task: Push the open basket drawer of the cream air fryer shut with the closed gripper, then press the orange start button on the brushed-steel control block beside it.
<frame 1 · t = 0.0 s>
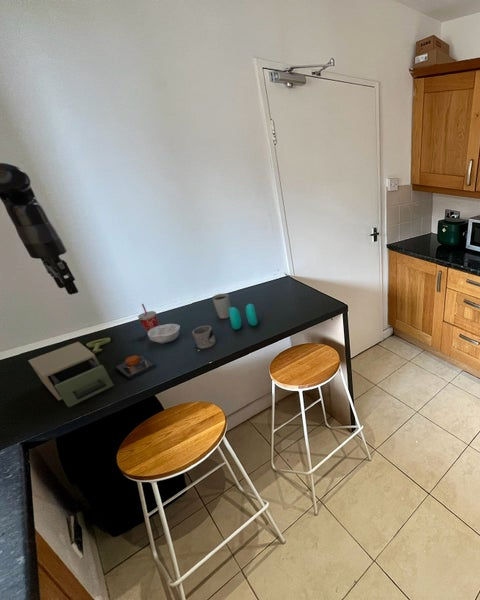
hand: (68, 290, 97), 33 cm above the countertop, tool pointing down, fingers open, 8 cm apart
start button: (132, 360, 112), point 4 cm above the countertop, slide at 0.2 cm
air fryer: (76, 380, 108), on the countertop
beverage cup: (154, 333, 135), on the countertop
donuts: (246, 326, 140), on the countertop
mug: (206, 342, 129), on the countertop
cell model: (167, 340, 130), on the countertop
drinking glass: (225, 315, 148), on the countertop
control block: (136, 368, 114), on the countertop
key: (99, 347, 125), on the countertop
basket: (81, 381, 100), point 5 cm above the countertop, slide at 7.0 cm
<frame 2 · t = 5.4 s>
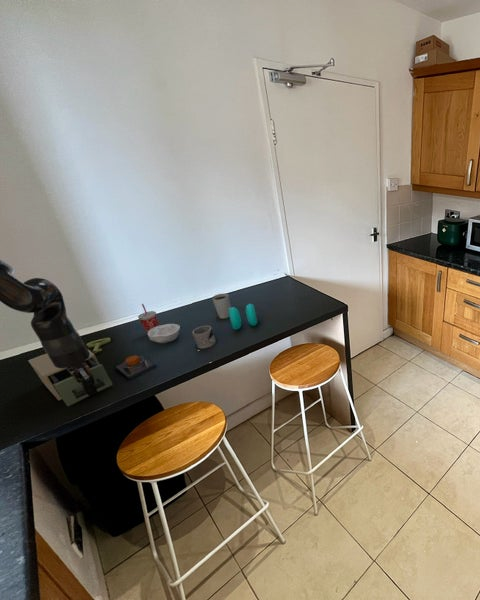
hand: (92, 393, 96), 5 cm above the countertop, tool pointing down, fingers closed
basket: (80, 380, 101), point 5 cm above the countertop, slide at 6.2 cm, touching gripper
everything else where it was.
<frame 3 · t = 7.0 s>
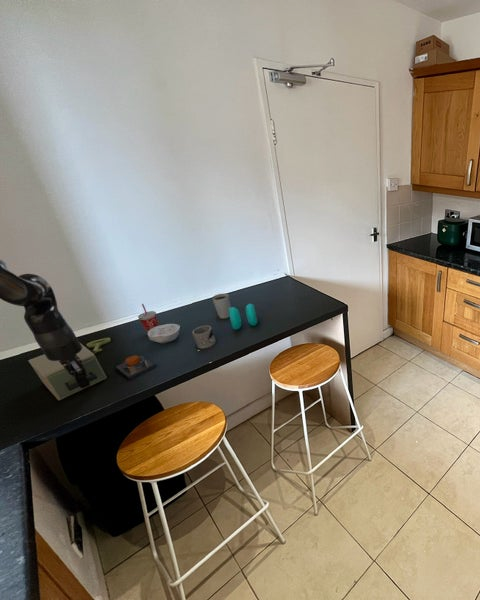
hand: (85, 386, 99), 5 cm above the countertop, tool pointing down, fingers closed
basket: (73, 373, 104), point 5 cm above the countertop, slide at 0.0 cm, touching air fryer, gripper
everything else where it was.
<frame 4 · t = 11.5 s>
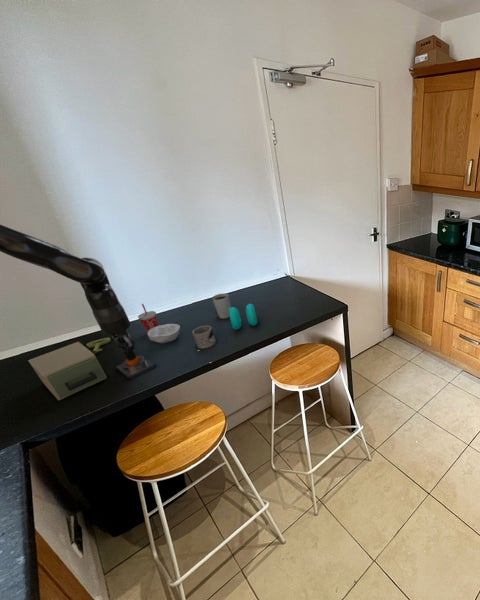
hand: (131, 358, 112), 4 cm above the countertop, tool pointing down, fingers closed
start button: (132, 360, 112), point 4 cm above the countertop, slide at 0.1 cm, touching gripper
basket: (73, 373, 104), point 5 cm above the countertop, slide at 0.0 cm
everything else where it was.
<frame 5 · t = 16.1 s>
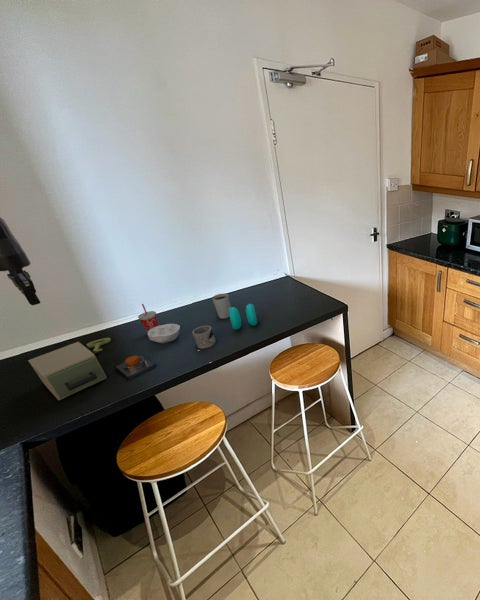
hand: (35, 303, 101), 27 cm above the countertop, tool pointing down, fingers closed
start button: (132, 360, 112), point 4 cm above the countertop, slide at 0.2 cm
everything else where it was.
at the end: basket slide at 0.0 cm; start button pushed in 0.9 cm at the most during the clip, back to 0.2 cm at the end; start button slide at 0.2 cm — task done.
